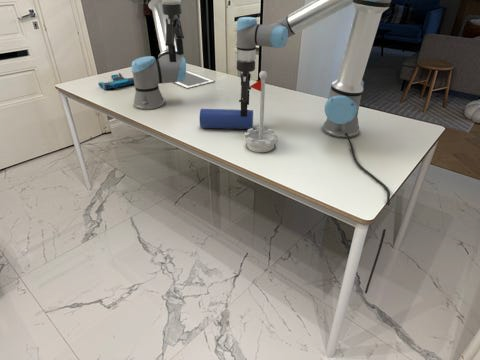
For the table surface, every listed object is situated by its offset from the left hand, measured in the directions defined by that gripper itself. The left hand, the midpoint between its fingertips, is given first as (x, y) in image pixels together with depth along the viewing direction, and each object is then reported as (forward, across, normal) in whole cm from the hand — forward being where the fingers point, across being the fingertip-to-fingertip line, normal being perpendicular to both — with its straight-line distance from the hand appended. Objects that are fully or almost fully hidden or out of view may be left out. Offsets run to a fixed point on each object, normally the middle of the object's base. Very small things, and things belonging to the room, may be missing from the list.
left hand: (177, 57), depth 148 cm
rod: (+28, +10, +23) cm, 37 cm away
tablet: (+28, -61, -11) cm, 68 cm away
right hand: (+19, +10, +31) cm, 38 cm away
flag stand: (+28, +27, +38) cm, 55 cm away
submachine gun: (+28, -53, -47) cm, 76 cm away
